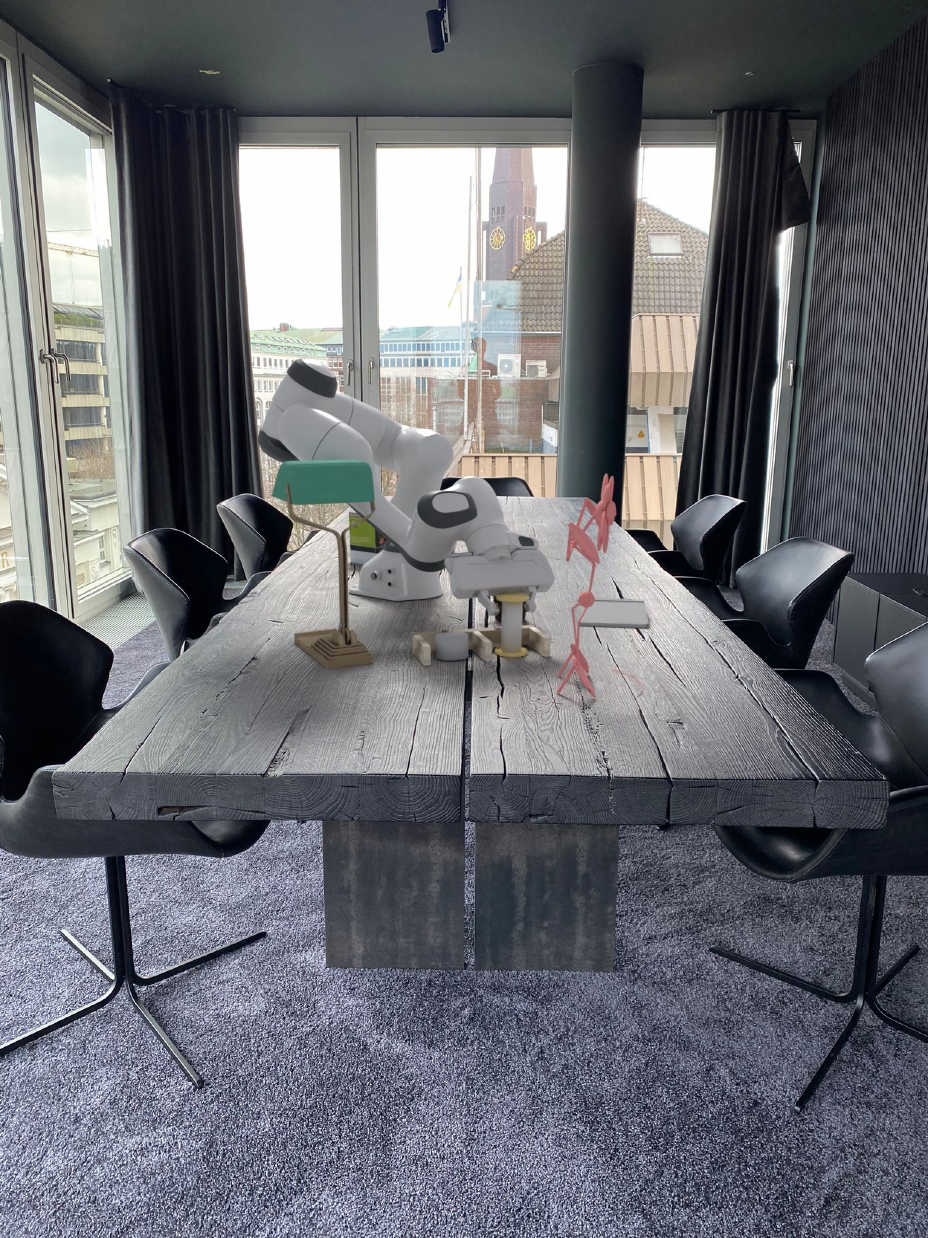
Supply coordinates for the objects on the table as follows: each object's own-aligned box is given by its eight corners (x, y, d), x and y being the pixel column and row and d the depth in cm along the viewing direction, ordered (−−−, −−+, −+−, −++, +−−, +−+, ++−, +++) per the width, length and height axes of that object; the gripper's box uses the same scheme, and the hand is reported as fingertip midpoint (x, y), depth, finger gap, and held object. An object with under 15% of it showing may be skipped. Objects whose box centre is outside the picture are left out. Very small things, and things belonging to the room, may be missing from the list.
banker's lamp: (307, 671, 156) (300, 466, 147) (273, 642, 174) (266, 457, 165) (391, 660, 163) (390, 464, 154) (350, 633, 181) (347, 456, 172)
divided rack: (410, 650, 169) (410, 631, 168) (530, 642, 176) (531, 623, 175) (424, 666, 160) (424, 645, 159) (550, 656, 166) (550, 637, 166)
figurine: (551, 710, 138) (565, 480, 129) (553, 662, 163) (565, 466, 154) (652, 718, 136) (674, 485, 128) (639, 668, 161) (656, 470, 153)
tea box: (383, 555, 267) (383, 505, 263) (410, 559, 261) (410, 508, 257) (348, 562, 255) (347, 510, 251) (375, 566, 249) (375, 513, 245)
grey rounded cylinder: (446, 661, 161) (445, 640, 160) (430, 655, 166) (429, 634, 166) (474, 657, 164) (474, 635, 163) (458, 651, 169) (457, 630, 169)
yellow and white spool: (488, 653, 168) (489, 596, 165) (506, 646, 172) (507, 590, 170) (515, 659, 164) (517, 600, 162) (533, 652, 169) (535, 595, 166)
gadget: (649, 631, 188) (650, 614, 187) (576, 628, 189) (577, 611, 188) (639, 606, 210) (640, 590, 209) (574, 604, 211) (575, 588, 210)
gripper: (446, 544, 166) (466, 607, 159) (544, 538, 174) (567, 598, 167) (437, 563, 171) (456, 626, 164) (533, 557, 179) (555, 616, 172)
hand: (513, 612), depth 166 cm, fingers open, 6 cm apart
